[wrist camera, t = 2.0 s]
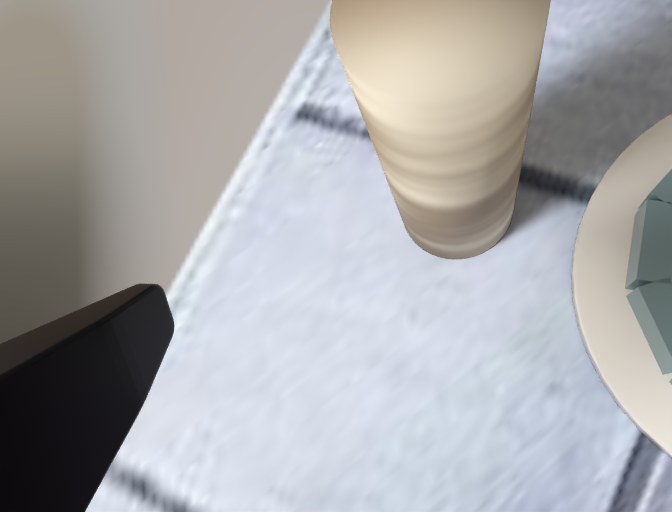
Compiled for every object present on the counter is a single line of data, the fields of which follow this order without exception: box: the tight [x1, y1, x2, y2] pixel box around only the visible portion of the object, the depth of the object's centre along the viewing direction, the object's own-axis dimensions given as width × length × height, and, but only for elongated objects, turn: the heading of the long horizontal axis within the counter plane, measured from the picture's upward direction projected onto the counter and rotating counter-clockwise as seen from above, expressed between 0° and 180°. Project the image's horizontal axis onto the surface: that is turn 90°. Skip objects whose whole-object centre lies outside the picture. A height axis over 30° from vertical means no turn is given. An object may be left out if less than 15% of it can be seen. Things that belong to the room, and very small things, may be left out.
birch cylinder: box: [330, 0, 551, 259], centre depth 17 cm, size 4×4×12 cm
